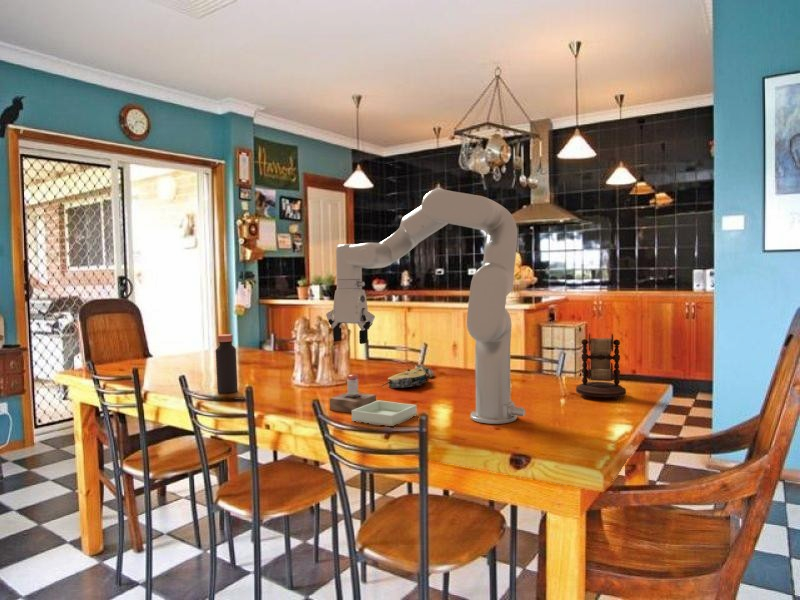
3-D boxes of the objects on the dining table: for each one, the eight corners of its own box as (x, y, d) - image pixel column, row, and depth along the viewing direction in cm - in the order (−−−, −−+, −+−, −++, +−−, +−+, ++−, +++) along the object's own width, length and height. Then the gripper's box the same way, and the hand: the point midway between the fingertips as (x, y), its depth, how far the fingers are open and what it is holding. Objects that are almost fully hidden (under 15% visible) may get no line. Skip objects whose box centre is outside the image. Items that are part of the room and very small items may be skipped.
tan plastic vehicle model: (445, 359, 218) (413, 374, 191) (447, 374, 218) (416, 391, 191) (411, 363, 224) (376, 378, 197) (414, 378, 224) (379, 394, 197)
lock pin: (360, 407, 173) (359, 374, 172) (354, 409, 170) (353, 376, 170) (352, 406, 175) (351, 373, 174) (345, 408, 172) (344, 375, 171)
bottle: (231, 394, 196) (229, 336, 195) (213, 393, 197) (211, 336, 196) (241, 389, 203) (238, 333, 201) (223, 389, 204) (221, 333, 203)
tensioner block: (376, 406, 174) (375, 394, 174) (356, 413, 165) (356, 401, 165) (350, 402, 179) (349, 391, 179) (329, 409, 171) (329, 398, 171)
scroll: (624, 392, 184) (624, 330, 183) (627, 403, 170) (627, 336, 169) (576, 390, 189) (576, 330, 188) (576, 400, 175) (575, 335, 174)
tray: (416, 415, 162) (416, 405, 162) (391, 427, 151) (391, 416, 151) (378, 410, 169) (378, 400, 169) (351, 421, 158) (351, 410, 157)
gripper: (380, 285, 169) (381, 342, 170) (334, 284, 178) (335, 339, 179) (365, 286, 162) (366, 345, 164) (318, 285, 172) (319, 342, 173)
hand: (350, 342), depth 171 cm, fingers open, 9 cm apart
